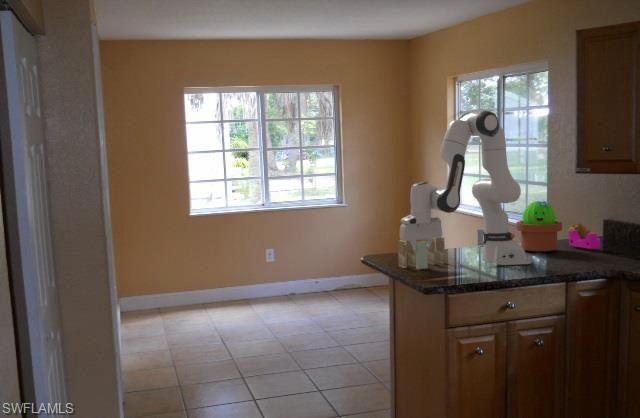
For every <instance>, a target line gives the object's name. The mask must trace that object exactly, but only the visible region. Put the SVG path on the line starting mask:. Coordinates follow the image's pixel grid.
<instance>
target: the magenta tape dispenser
mask: <svg viewBox="0 0 640 418" xmlns="http://www.w3.org/2000/svg"><path fill="white" fill-rule="evenodd" d="M568 235H569V236H568V238H569V239H568V241H569V243H568V245H569V246H573V247H579V248H584V249H590V250H592V249H593V250H594V249H601V238H597V233H595V232H590V233H587V236H586V237H583V238H582V237H580V236H579V234H578V231H576V230H573V231H569V233H568Z"/></svg>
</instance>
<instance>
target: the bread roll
mask: <svg viewBox="0 0 640 418" xmlns="http://www.w3.org/2000/svg"><path fill="white" fill-rule="evenodd" d="M573 230H576V231H578V234H579V236H580V238H586V236H587V233H591V231H590V227H588V226H587V225H585V224H582V223H574V224H571V225H570V227H569V229H568V231H567V233H568V234H569V231H573Z"/></svg>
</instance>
